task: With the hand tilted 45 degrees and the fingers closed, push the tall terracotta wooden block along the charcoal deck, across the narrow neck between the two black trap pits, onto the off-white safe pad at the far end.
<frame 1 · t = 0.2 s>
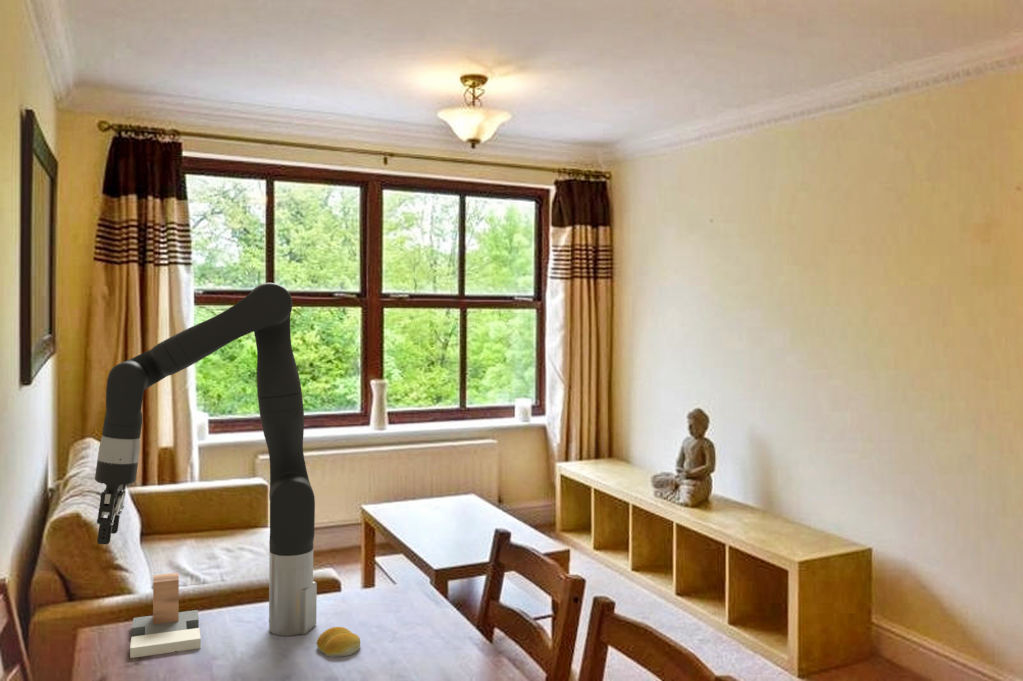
hand: (107, 538, 162), 23 cm above the table, tool pointing down, fingers open, 8 cm apart
block: (165, 618, 173), point 2 cm above the table, touching deck
safe pad: (165, 647, 163), on the table
deck: (165, 639, 167), on the table
bread roll: (338, 650, 164), on the table
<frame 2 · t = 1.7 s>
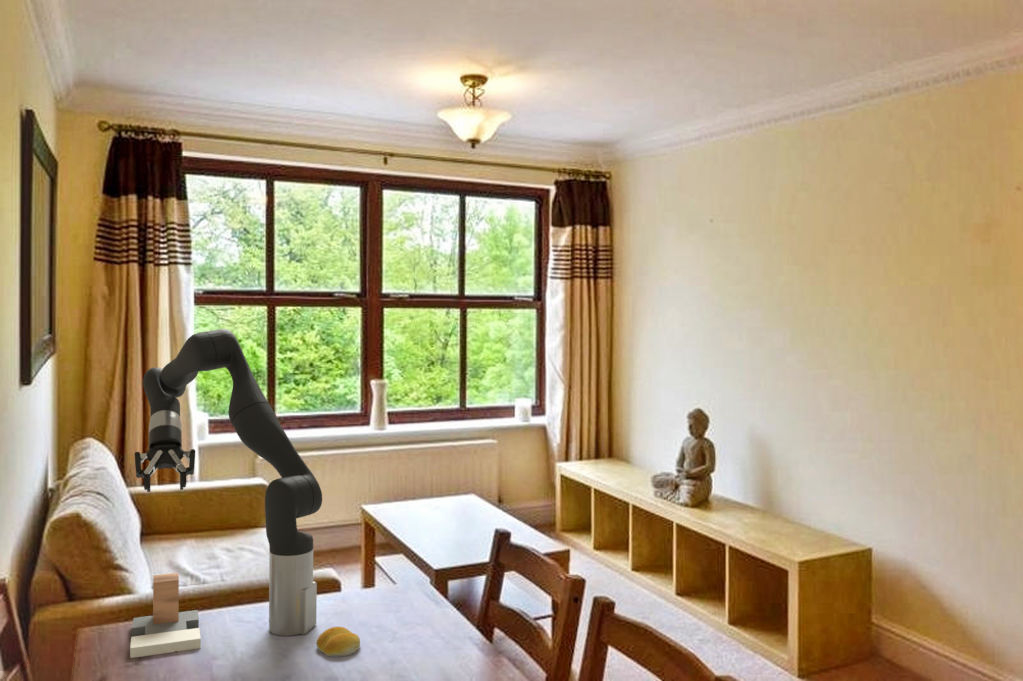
hand: (165, 488, 190), 26 cm above the table, tool tilted 45°, fingers open, 6 cm apart
nothing on the table moved.
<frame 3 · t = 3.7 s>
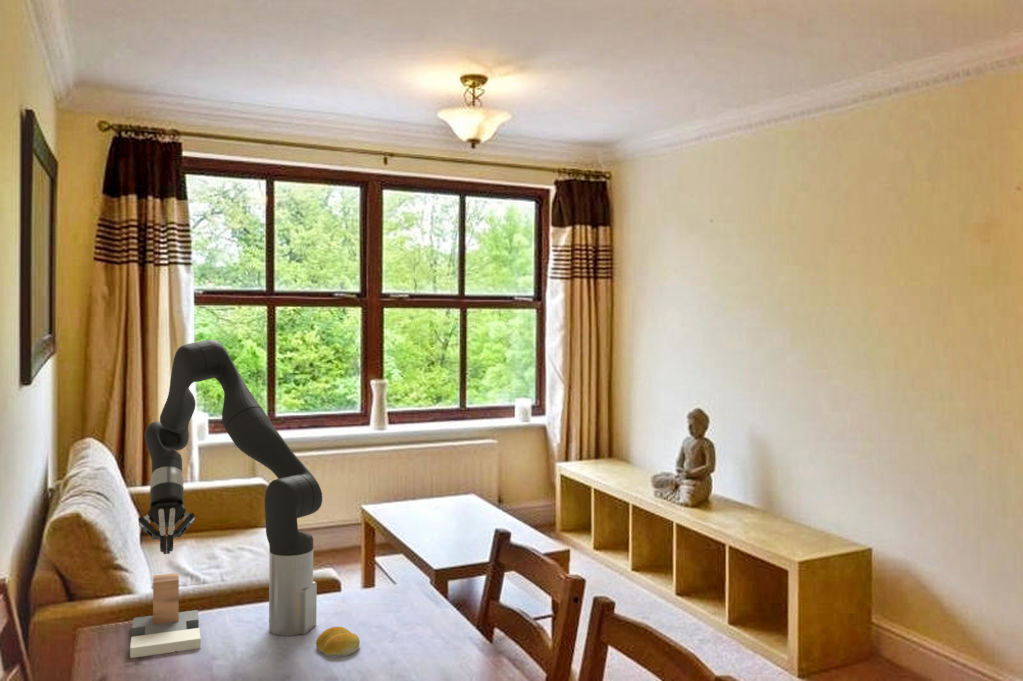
hand: (166, 552, 186), 13 cm above the table, tool tilted 45°, fingers closed
nothing on the table moved.
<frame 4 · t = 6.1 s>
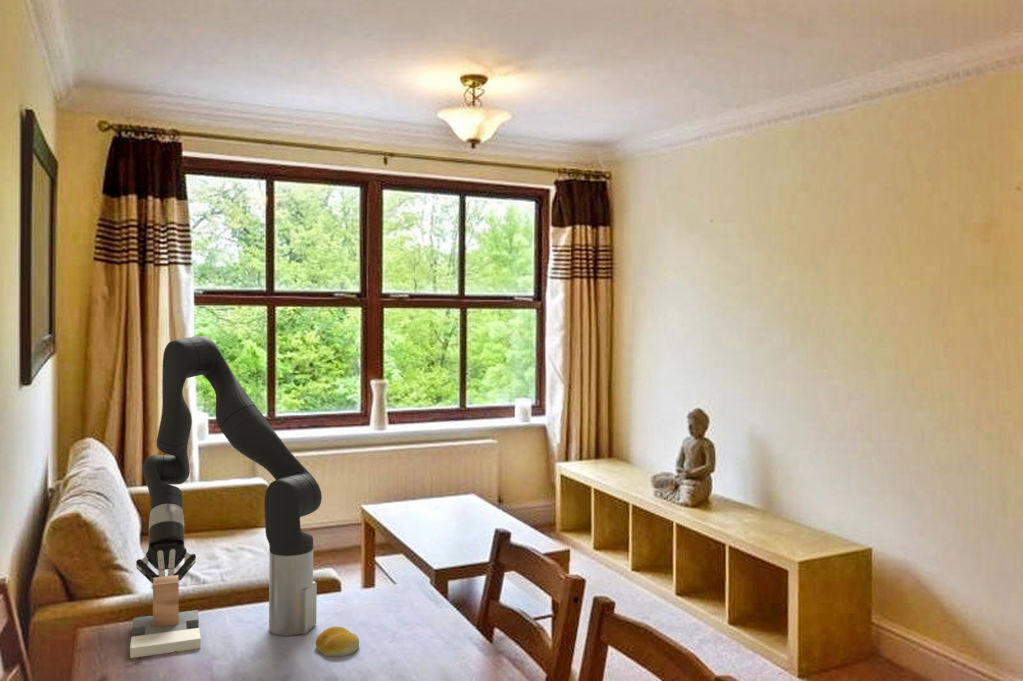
hand: (166, 597, 174), 6 cm above the table, tool tilted 45°, fingers closed
block: (165, 621, 172), point 2 cm above the table, touching gripper
everything else where it was.
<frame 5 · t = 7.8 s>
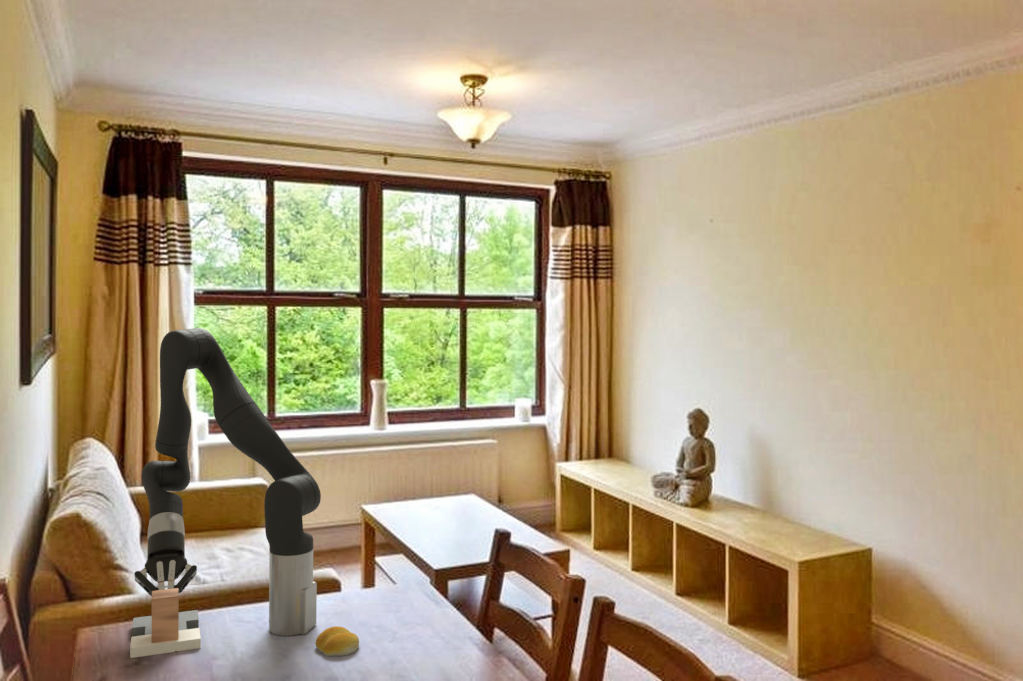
hand: (166, 611, 166), 6 cm above the table, tool tilted 45°, fingers closed
block: (165, 636, 164), point 2 cm above the table, touching gripper, safe pad
everything else where it was.
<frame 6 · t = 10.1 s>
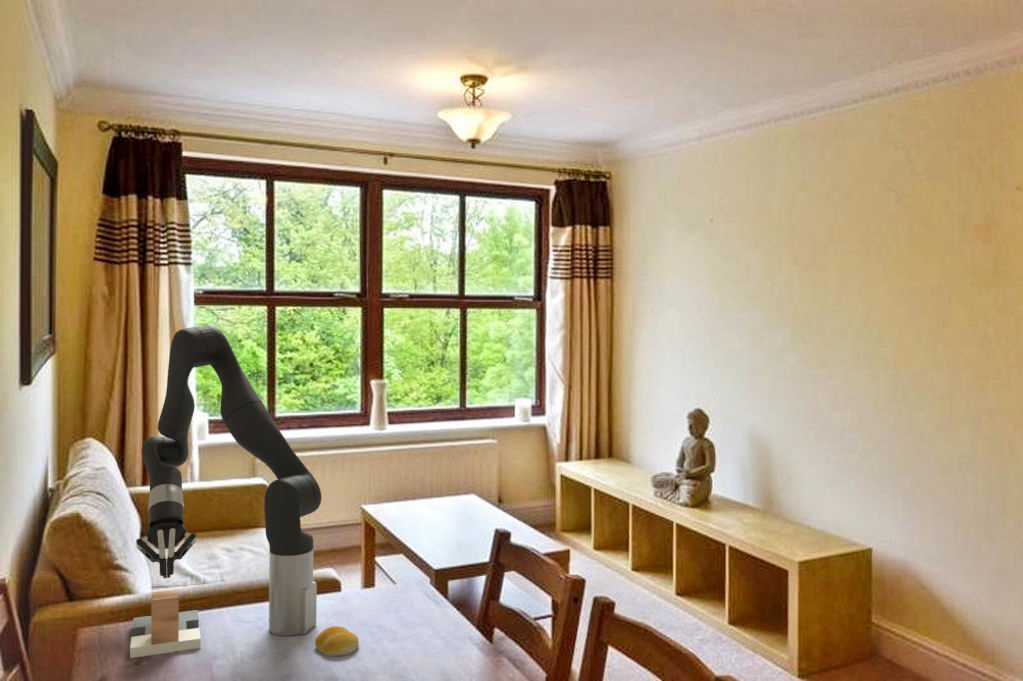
hand: (166, 576, 175), 11 cm above the table, tool tilted 45°, fingers closed
block: (165, 638, 163), point 2 cm above the table, touching safe pad
everything else where it was.
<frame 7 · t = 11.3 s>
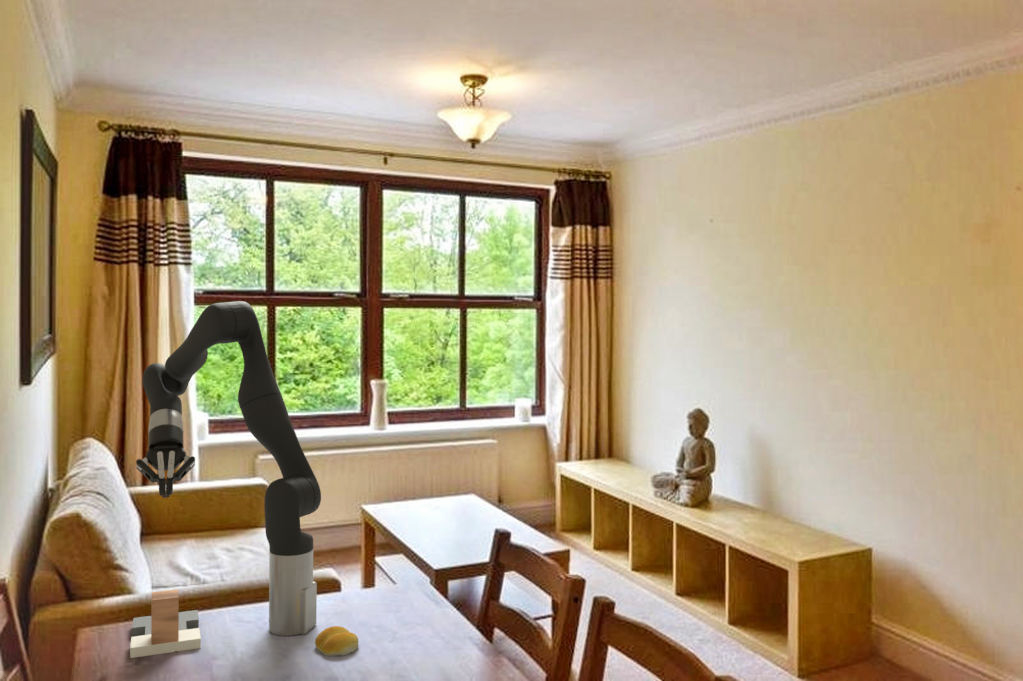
hand: (166, 495, 177), 28 cm above the table, tool tilted 45°, fingers closed
nothing on the table moved.
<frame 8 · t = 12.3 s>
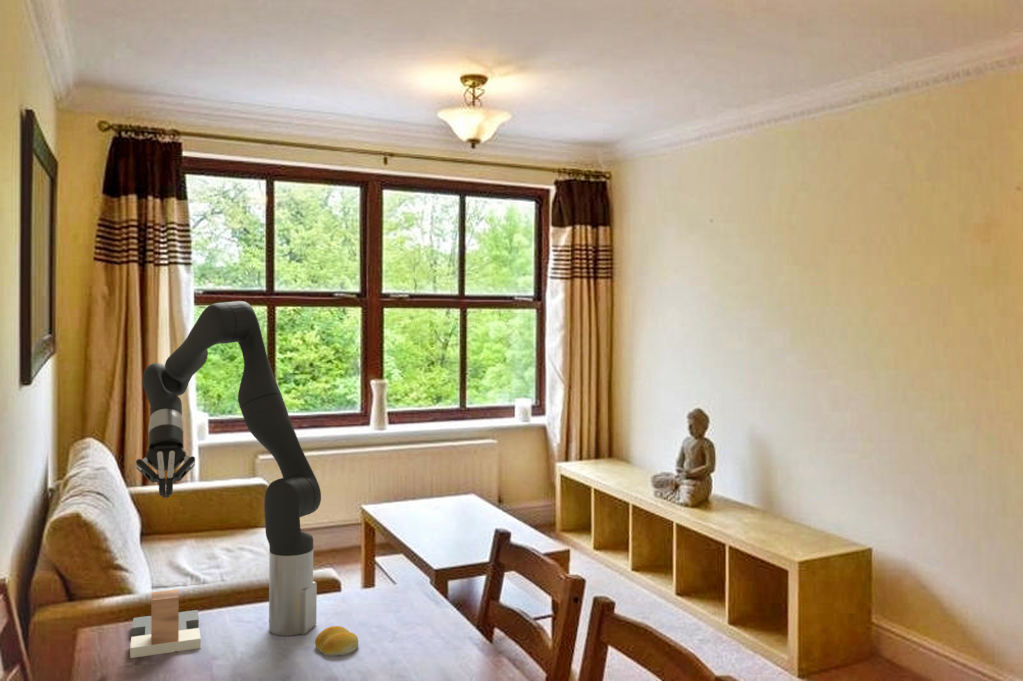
hand: (166, 495, 177), 28 cm above the table, tool tilted 45°, fingers closed
nothing on the table moved.
at the end: block 0.4 cm from the safe pad (horizontally); block point 2.0 cm above the table; block tilted 0° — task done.
